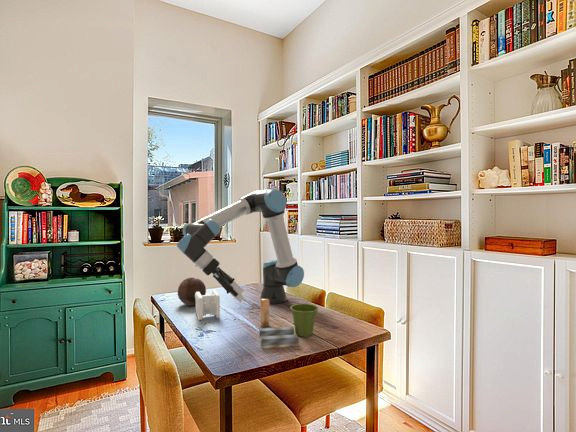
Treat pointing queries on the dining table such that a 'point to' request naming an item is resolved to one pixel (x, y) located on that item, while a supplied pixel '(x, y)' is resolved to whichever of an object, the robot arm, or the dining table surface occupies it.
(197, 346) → the dining table surface
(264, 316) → the copper pin
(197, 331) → the dining table surface
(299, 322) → the plant pot
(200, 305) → the cable organizer
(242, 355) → the dining table surface
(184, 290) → the wooden sphere
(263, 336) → the notch board
